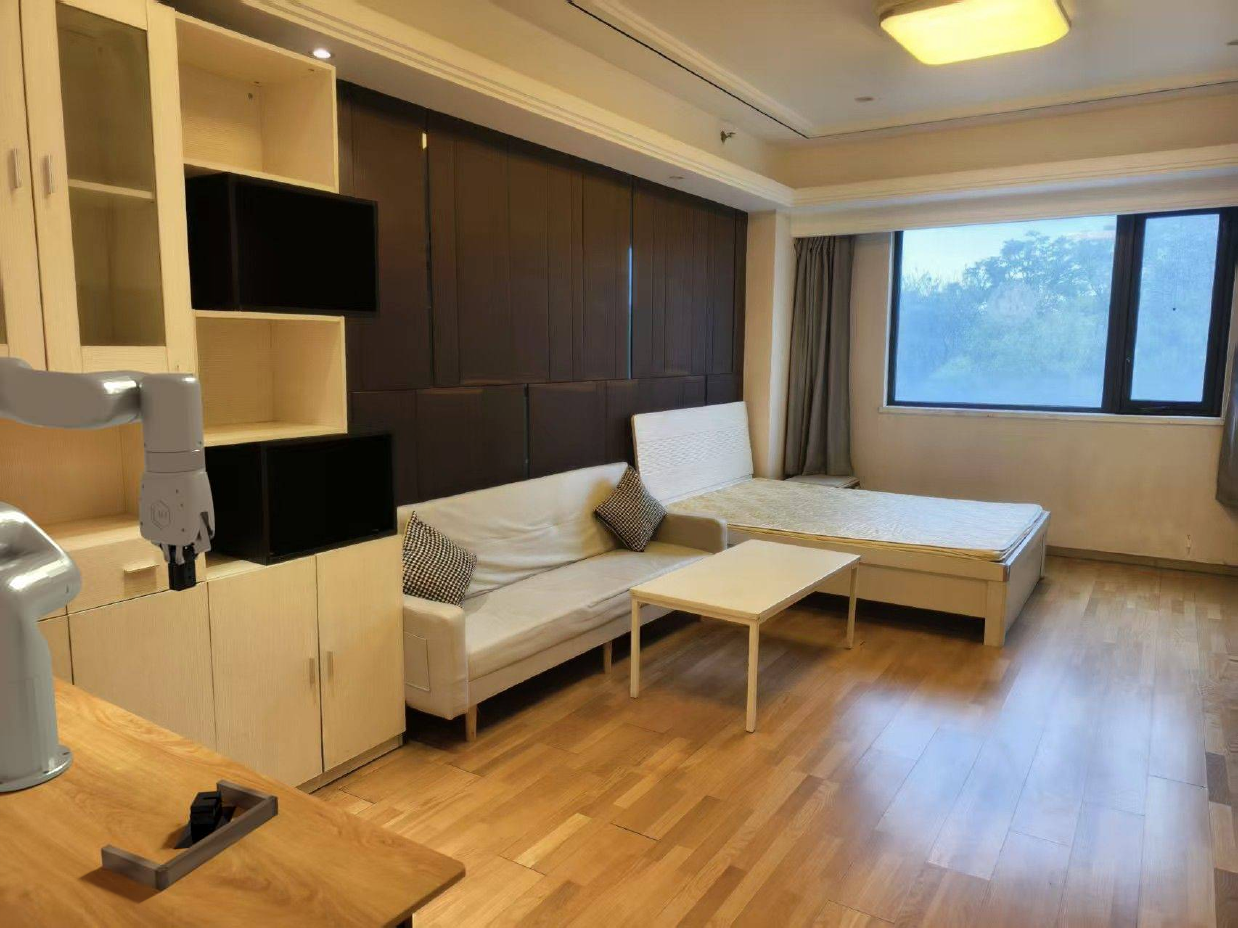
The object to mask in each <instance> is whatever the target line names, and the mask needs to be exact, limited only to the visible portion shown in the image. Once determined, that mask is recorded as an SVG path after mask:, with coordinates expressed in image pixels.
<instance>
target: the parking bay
mask: <svg viewBox="0 0 1238 928" xmlns="http://www.w3.org/2000/svg"><path fill="white" fill-rule="evenodd" d="M215 785H216V791H221V796H222V802H225V803H227V804H231V805H232V806H237V807H240V808H243V809H246V811H245V812H243V813H242V814H240V815H239V816H237V817H236V818H234V819H231V821H230V822H229V823H228V824H226V825H224V826H223V827H221V828H220V829H218V830H217V831H215V832H213V833H212V834H210V835H209V836H207V837H205V838H204V839H202V840H201V841H199V842H198V843H196V844H194V845H193V846H191V847H190V848H186V849H184V851H183V850H182V852H180V853H178V854H177V855H175V856H174V857H172V858H170V859H169V860H167V861H166V862H164V863H163V864H161V863H158V862H155V861H153V860H150V859H148V858H145V857H143V856H140V855H138V854H135V853H132V852H130V851H127V850H125V849H123V848H119V847H116V846H114V845H112V844H107V845H105V846H103V847H101V848H100V852H101V853H100V854H101V864H102V865H101V866H102V868H103V869H106V870H108V871H112V872H113V873H116V874H119V875H121V876H124V877H126V878H128V879H131V880H133V881H136V882H138V883H141V884H143V885H145V886H148V887H150V888H153V889H156V890H158V891H161V892H163V891H164V890H166V889H167V888H168V887H170V886H172V885H173V884H175V883H176V882H178V881H179V880H181V879H182V878H184V877H185V876H187V875H188V874H190V873H191V872H193V871H194V870H196V869H198V868H199V867H200V866H202V865H203V864H205V863H206V862H209V861H210V860H211V859H214V857H216V856H217V855H219V854H220V853H221V852H223V851H224V850H226V849H227V848H230V846H232V845H233V844H235V843H236V842H238V841H240V840H241V839H243V838H244V837H246V836H247V835H248V834H250V833H252V832H253V831H255V830H257V829H258V828H260V827H261V826H262V825H264V824H265V823H267V822H268V821H269V820H271V819H273V818H274V817H276V816H277V815H279V799H278V796H276V795H273V794H269V793H267V792H262V791H260V790H257V789H254V788H250V787H247V786H244V785H241V784H237V783H235V782H231V781H228V780H225V779H220V780H219V781H217V782H216V783H215Z"/></svg>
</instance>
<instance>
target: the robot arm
mask: <svg viewBox="0 0 1238 928" xmlns="http://www.w3.org/2000/svg"><path fill="white" fill-rule="evenodd" d="M0 419H8V420H10V421H13V422H17V423H20V424H24V425H27V426H33V427H39V428H51V429H61V430H62V429H63V430H74V431H75V430H77V431H93V430H94V431H95V430H101V429H104V428H105V429H106V428H111V427H116V426H123V425H130V424H134V423H135V424H136V423H139V422H140V423H141V432H142V446H143V447H142V448H143V460H144V471H142V474H141V479H140V484H139V485H140V487H139V497H138V498H139V501H138V503H139V504H138V506H139V507H138V510H139V511H138V515H139V517H138V518H139V533H140V536H141V537H142V538H143V539H144V540H145V541H149V542H150V543H151V545H153V546H156V547H157V548H159V549H160V550H161V552H162V555H163V559H164V561H165V562H166V563H167V571H168V572H167V573H168V575H167V576H168V588H169V590H171V591H175V592H182V591H186V590H188V589H192V588H195V587H196V586H197V572H196V571H197V570H196V561H197V560H198V559H199V555H200V554H201V553H205V552H209V551H211V549H212V545H211V542H210V540H212V539H213V538H214V536H215V525H216V524H215V510H214V509H215V508H214V502H213V495H212V490H211V485H210V480H209V477H208V471H206V457H205V438H204V423H203V421H204V420H203V405H202V388H201V382H200V380H199V378H197V376H195V375H194V374H191V373H184V372H183V373H181V372H180V373H179V372H177V373H176V372H175V373H174V372H167V373H166V372H163V373H150V372H145V371H143V372H142V371H140V370H139V371H138V370H130V369H129V370H127V369H125V370H124V369H122V370H119V369H118V370H108V371H107V370H105V371H94V372H92V371H91V372H64V371H63V372H62V371H53V370H41V369H34V368H33V366H32V365H31V364H30V363H28V362H27V361H26V360H24V359H21V358H18V357H11V356H0ZM81 573H82V572H81V570H80V568H79V566H78V564H77V563H76V561H75V560H74V559H73V557H71V555H70V554H69V553H68V552H66V550H65V549H64V548H63V547H61V545H59V543H57V542H56V541H55V540H54V538H52V537H51V536H50V535H49V534H48V533H47V532H46V531H45V530H44V529H42V528H41V526H40V525H38V524H37V523H36V522H35V521H34V520H33V519H32V518H30V516H29V515H27V514H26V513H25V512H24V511H22V510H21V509H20V508H18V507H16V506H14V505H12V504H9V503H7V502H3V501H0V793H7V792H12V791H17V790H21V789H27V788H30V787H34V786H37V785H39V784H42V783H45V782H47V781H49V780H52V779H53V778H55V777H57V776H58V775H60V774H62V773H63V772H65V771H66V770H67V768H68V767H70V765H71V764H72V763H73V762H72V761H73V757H74V756H73V751H72V750H71V748H69V747H68V746H66V745H62V744H60V742H59V731H58V730H59V729H58V720H57V719H58V718H57V717H58V716H57V706H56V695H55V687H54V686H55V685H54V674H53V665H52V664H53V663H52V657H51V650H50V646H49V643H48V642H47V640H46V638H45V636H44V634H43V633H42V632H41V631H40V629H39V627H38V620H40V619H42V618H44V617H46V616H48V615H49V614H52V613H54V612H56V611H58V610H60V609H62V608H64V607H65V606H67V605H69V604H70V603H72V602H73V601H74V600H75V599H76V598H77V596H78V595H79V594H80V592H81V589H82V583H83V577H82V574H81Z"/></svg>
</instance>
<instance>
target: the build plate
mask: <svg viewBox="0 0 1238 928" xmlns="http://www.w3.org/2000/svg"><path fill="white" fill-rule="evenodd" d="M237 807H238V806H236V805H228V806H227V805H226V806H223V801H222V796H221V791H217V790H214V791H213V790H210V791H198V792H197V794H196V795H195V798H194V800H192V803H191V804H190V806H189V810H190V813H189V821H187V824H186V825H185V827H184V829H183V831H182V832H181V835H180V836H179V838H178V840H177V842H176V843H175V845H174V846H173V850H182V849H184V850H186V849H188V848H190V847H191V846H193V845H194V844H196V843H198V842H199V841H201V840H202V839H204V838H205V837H207V836H209V835H210V834H212V833H213V832H215V831H217V830H218V829H220V828H221V827H223V826H224V825H226V824H228V823H229V822H231V821H232V820H233V817H234V815H235V813H236V810H237Z"/></svg>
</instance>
